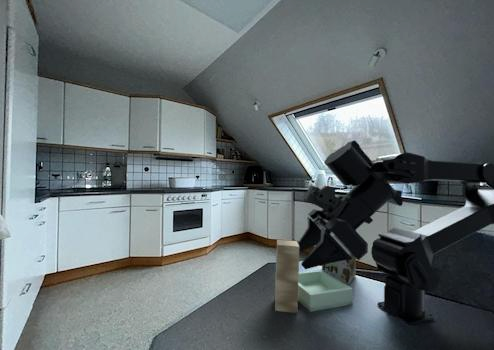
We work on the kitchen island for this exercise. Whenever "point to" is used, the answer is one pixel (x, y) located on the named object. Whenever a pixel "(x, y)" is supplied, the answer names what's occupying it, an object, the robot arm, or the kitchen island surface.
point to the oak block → (287, 276)
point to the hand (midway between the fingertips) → (299, 257)
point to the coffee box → (341, 270)
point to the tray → (322, 291)
